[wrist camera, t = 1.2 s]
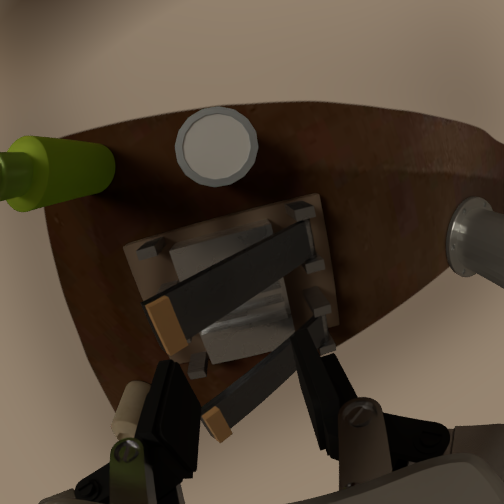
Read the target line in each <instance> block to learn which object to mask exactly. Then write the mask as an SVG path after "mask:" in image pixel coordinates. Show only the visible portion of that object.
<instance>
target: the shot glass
mask: <svg viewBox="0 0 504 504" xmlns="http://www.w3.org/2000/svg"><path fill="white" fill-rule="evenodd" d="M175 150H176V157H177V162H178V164H179V165H180V167H181V168H182V170H183V171H184V173H185V175H187V176H188V177H190V178H191V179H192V180H194V181H195V182H197V183H198V184H202V185H207V186H211V187H219V186H224V185H230V184H232V183H234V182H236V181H237V180H239V179H241V178H242V177H244V176H245V175H246V174H247V172H248V171H249V170H250V168H251V167H252V166H253V164H254V163H255V159H256V155H257V151H258V142H257V135H256V131H255V130H254V128H253V126H252V125H251V123H250V122H249V120H248V119H247V118H246V117H244V116H243V115H241V114H240V113H238V112H237V111H236V110H233V109H229V108H224V107H219V106H218V107H212V108H206V109H202V110H200V111H199V112H197V113H195V114H194V115H192V116H190V117H189V118H188V119H187V120H186V122H185V123H184V124H183V126H182V127H181V128H180V130H179V132H178V136H177V140H176V144H175Z"/></svg>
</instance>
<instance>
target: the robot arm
mask: <svg viewBox="0 0 504 504" xmlns="http://www.w3.org/2000/svg"><path fill="white" fill-rule="evenodd" d="M446 254H447V259H448V263H449V265H450V267H451V269H452V270H453V271H454V272H455V273H456V274H458V275H460V276H462V277H470V276H473V275H475V274H476V273H477V274H479V275H481V276H483V277H484V278H486V279H488V280H490V281H492V282H493V283H495V284H497V285H499V286H500V287H502V288H504V214H500V213H497V212H493V210H492V208H491V206H490V204H489V203H488V202H487V201H486V200H484V199H483V198H479V197H469V198H467V199H466V200H464V201H463V202H462V203H461V204H460V205H459V206H458V208H457V209H456V210H455V212H454V214H453V216H452V219H451V221H450V224H449V228H448V232H447V238H446ZM290 341H291V346H292V350H293V355H294V359H295V364H296V368H297V373H298V378H299V382H300V386H301V390H302V393H303V396H304V399H305V403H306V406H307V409H308V412H309V415H310V418H311V422H312V425H313V428H314V432H315V435H316V438H317V441H318V445H319V448H320V450H324V449H326V452H327V455H330V457H331V458H332V459H336V460H338V461H339V491H337V492H333V493H330V494H327V495H323V496H319V497H315V498H311V499H307V500H303V501H298V502H294V503H288V504H504V424H489V425H476V426H455V428H454V429H447V428H446V427H445V426H444V425H442V424H440V423H436V422H431V421H424V420H418V419H413V418H407V417H402V416H397V415H392V414H388V413H383V412H382V408H381V406H380V404H379V403H378V402H377V401H376V400H374V399H371V398H367V397H357V395H356V393H355V391H354V389H353V387H352V385H351V384H350V382H349V380H348V378H347V376H346V374H345V372H344V370H343V368H342V366H341V365H340V363H339V361H338V359H337V357H336V355H335V354H334V353H333V354H330V355H326V356H323V357H320V355H319V353H318V351H317V349H316V346H315V344H314V342H313V340H312V338H311V336H310V333H309V331H308V329H303V330H300V331H296V332H294V336H291V337H290ZM200 420H201V405H200V403H199V401H198V399H197V397H196V395H195V394H194V392H193V390H192V388H191V386H190V384H189V383H188V381H187V379H186V377H185V375H184V373H183V371H182V369H181V367H180V365H179V363H178V362H174V361H173V360H172V359H170V360H164V361H159V363H158V365H157V369H156V372H155V375H154V378H153V381H152V384H151V387H150V391H149V393H147V395H146V398H145V401H144V405H143V408H142V411H141V415H140V418H139V421H138V425H137V428H136V432H135V435H134V438H132V437H130V438H124V439H121V440H120V441H118V442H117V443H116V444H115V445H114V446H113V447H112V449H111V453H110V462H109V463H108V464H106V465H105V466H103V467H101V468H100V469H98V470H97V471H95V472H94V473H92V474H90V475H89V476H87V477H85V478H84V479H82V480H81V481H80V482H78V484H77V485H76V488H75V490H74V489H69V490H67V491H64V492H62V493H59V494H56V495H53V496H51V497H48V498H45V499H43V500H41V501H40V502H39V504H185V501H184V497H183V493H182V488H181V485H180V483H181V482H182V481H183V479H184V478H185V479H187V478H193V472H195V471H196V470H197V458H198V444H199V432H200Z"/></svg>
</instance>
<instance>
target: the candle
mask: <svg viewBox="0 0 504 504" xmlns="http://www.w3.org/2000/svg"><path fill="white" fill-rule="evenodd" d="M150 387H151V385H150V384H148V383H146V382H143V381H132V382H130V383H129V384H128V385H127V386H126V388H125V391H124V393H123V396H122V398H121V401H120V403H119V406H118V409H117V411H116V414H115V416H114V419H113V422H112V424H111V429H112V431H113V432H114V434H115V435H116V437H117V439H118V440H119V441H120V440H121V439H124V438H130V437H132V438H134V435H135V432H136V428H137V425H138V421H139V418H140V415H141V411H142V408H143V405H144V401H145V398H146V395H147V393H149V391H150Z"/></svg>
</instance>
